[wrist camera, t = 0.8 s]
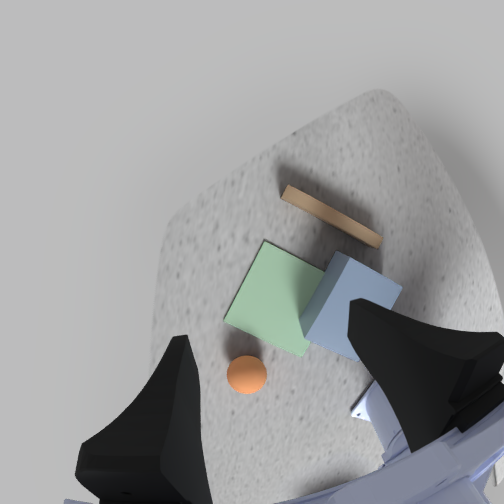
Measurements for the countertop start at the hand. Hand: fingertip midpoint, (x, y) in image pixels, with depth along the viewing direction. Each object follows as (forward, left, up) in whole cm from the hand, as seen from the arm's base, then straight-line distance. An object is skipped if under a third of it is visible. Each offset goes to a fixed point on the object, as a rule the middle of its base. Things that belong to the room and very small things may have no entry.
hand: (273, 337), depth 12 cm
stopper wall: (-3, -7, -16) cm, 18 cm away
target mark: (-3, +2, -16) cm, 17 cm away
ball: (-3, +10, -14) cm, 18 cm away
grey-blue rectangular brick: (-8, -1, -16) cm, 18 cm away
